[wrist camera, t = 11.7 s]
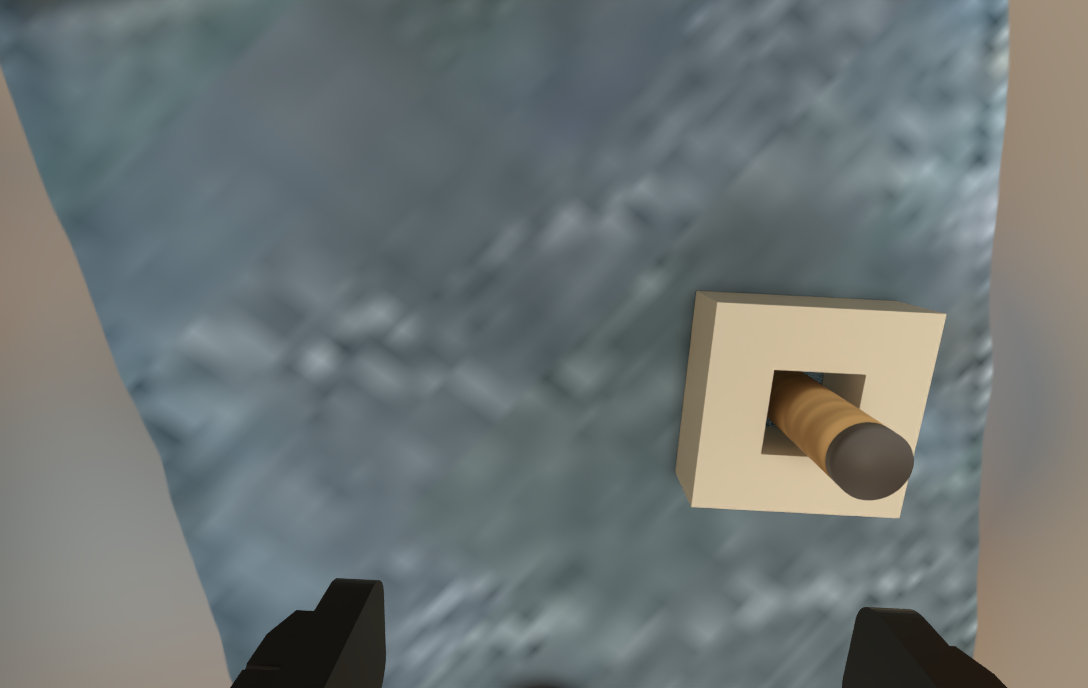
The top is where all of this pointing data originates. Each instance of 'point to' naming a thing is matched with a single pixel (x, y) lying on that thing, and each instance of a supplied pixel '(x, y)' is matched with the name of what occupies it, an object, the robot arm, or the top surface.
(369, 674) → the robot arm
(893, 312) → the socket block
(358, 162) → the top surface
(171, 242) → the top surface
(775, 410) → the peg
